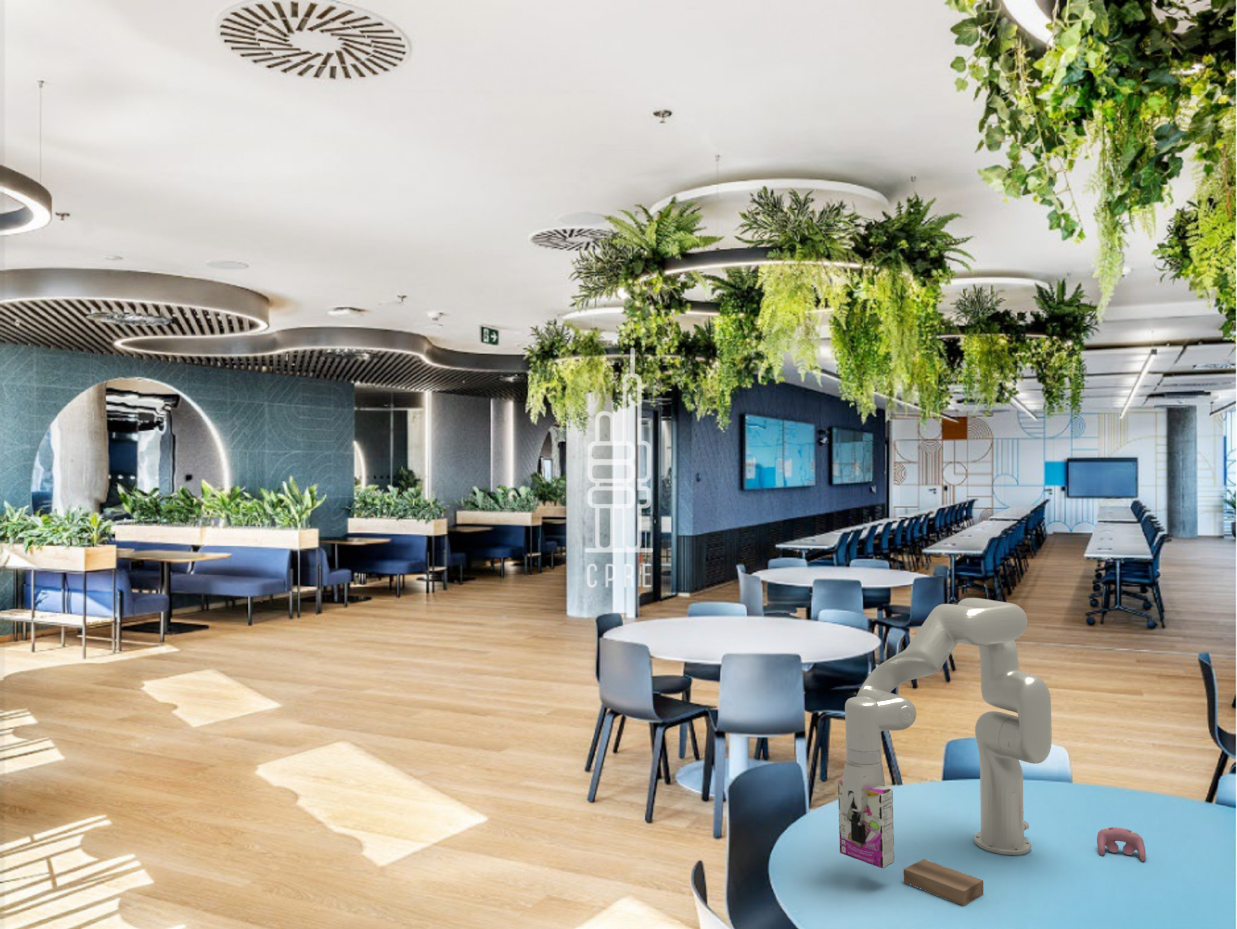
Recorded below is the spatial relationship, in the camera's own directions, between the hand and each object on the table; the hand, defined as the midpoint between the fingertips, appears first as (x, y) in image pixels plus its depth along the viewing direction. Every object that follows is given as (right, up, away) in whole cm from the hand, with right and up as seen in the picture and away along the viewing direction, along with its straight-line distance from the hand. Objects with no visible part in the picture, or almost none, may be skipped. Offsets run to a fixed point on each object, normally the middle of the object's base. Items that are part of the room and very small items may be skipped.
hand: (866, 837), depth 196 cm
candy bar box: (0, -5, 0) cm, 5 cm away
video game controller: (+64, -10, +13) cm, 66 cm away
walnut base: (+15, -9, -4) cm, 19 cm away
